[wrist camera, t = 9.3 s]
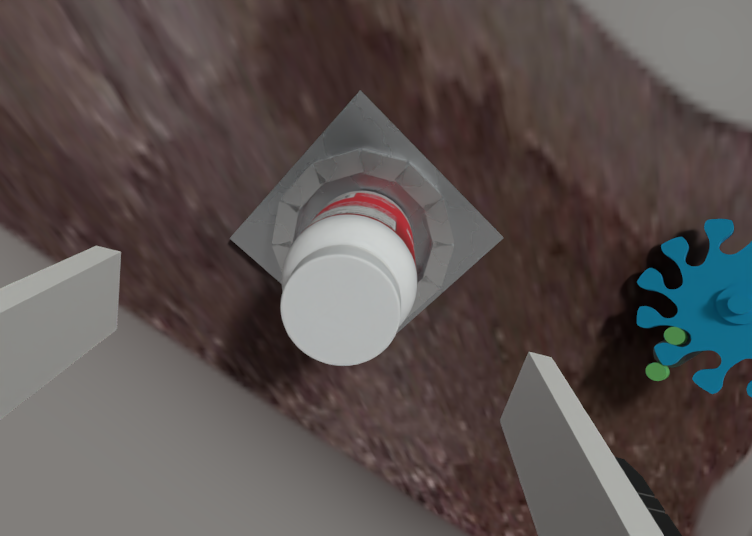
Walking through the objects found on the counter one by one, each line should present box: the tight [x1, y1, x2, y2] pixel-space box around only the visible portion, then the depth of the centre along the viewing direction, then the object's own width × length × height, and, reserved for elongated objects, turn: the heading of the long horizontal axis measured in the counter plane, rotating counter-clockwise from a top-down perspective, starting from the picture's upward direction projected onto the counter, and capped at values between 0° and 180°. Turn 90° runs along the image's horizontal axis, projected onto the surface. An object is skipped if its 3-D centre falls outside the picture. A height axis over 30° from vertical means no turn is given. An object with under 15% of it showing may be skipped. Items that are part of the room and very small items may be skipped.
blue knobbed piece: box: [637, 219, 752, 397], centre depth 26 cm, size 11×6×10 cm
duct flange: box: [230, 91, 503, 333], centre depth 27 cm, size 12×12×2 cm
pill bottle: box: [280, 191, 417, 366], centre depth 22 cm, size 6×6×11 cm
